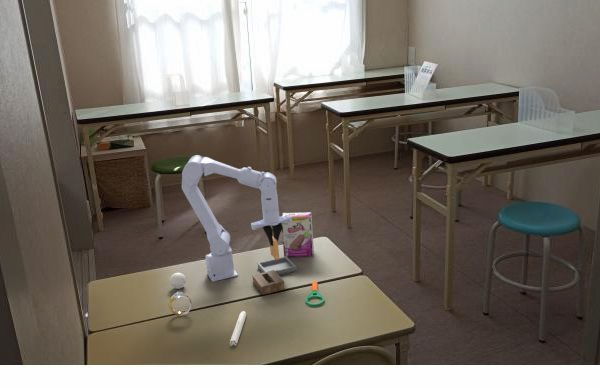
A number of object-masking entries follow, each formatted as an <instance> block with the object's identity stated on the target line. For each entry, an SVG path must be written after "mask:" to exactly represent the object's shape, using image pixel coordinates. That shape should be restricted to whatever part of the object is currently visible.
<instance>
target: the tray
mask: <svg viewBox="0 0 600 388" xmlns="http://www.w3.org/2000/svg"><path fill="white" fill-rule="evenodd" d="M257 268H258V270H259V271H260V272H261V273H264V272H268V271H272V270H274V271H275V272H276V273H277V274H278V275H279V276H284V275H286V274H291V273H295V272H297V265H296V264H295V263H293V261H292V260H291V259H289V257H286V256H284V255H283V256H281V257H280V256H279V259H278V260H276V259H275V258H273V259H268V260H263V261H259V262H257Z"/></svg>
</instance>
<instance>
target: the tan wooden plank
mask: <svg viewBox="0 0 600 388" xmlns="http://www.w3.org/2000/svg"><path fill="white" fill-rule="evenodd" d="M269 251H270V255H271V256H272V257H273V259H276V260H278V259H279V258H280V252H279V251H280V250H279V240H278V241H277V240H276V239H275V238H274V236H273V246H271V245H270V244H269Z"/></svg>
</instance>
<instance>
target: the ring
mask: <svg viewBox="0 0 600 388" xmlns="http://www.w3.org/2000/svg"><path fill="white" fill-rule="evenodd" d="M179 298H180V299H184V300H185V301H187V303H188V309H187V310H186V311H184V312H183V311H176V310H175V309H174V308H173V307H172V303H173V302H174V301H176V300H177V299H179ZM167 305H168V309H169V310H170V312H171V313H173V314H174V315H177V316H180V317H183V316H185V315H188V313H189V312H190V311H191V308H192V300H191V297H189V296H188V295H186V294H185V293H184V292H183V291H177V292H176V293H173V295H172V296H170V298H169V301H168V303H167Z"/></svg>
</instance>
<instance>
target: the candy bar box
mask: <svg viewBox="0 0 600 388" xmlns="http://www.w3.org/2000/svg"><path fill="white" fill-rule="evenodd" d="M281 214H282V215H281V216H289V215H290V216H291V217H292V222H286V223H281V225H282V226H283V228H282V230H281V233H282V245H283V246H282V247H283V257H284V256H286V257H287V258H295V257H298V258H301V257H302V258H303V257H313V256H314V252H315V248H314V234H313V233H314V232H313V230H314V229H313V217H312V212H311V211H310V212H308V211H307V212H282V213H281Z"/></svg>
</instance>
